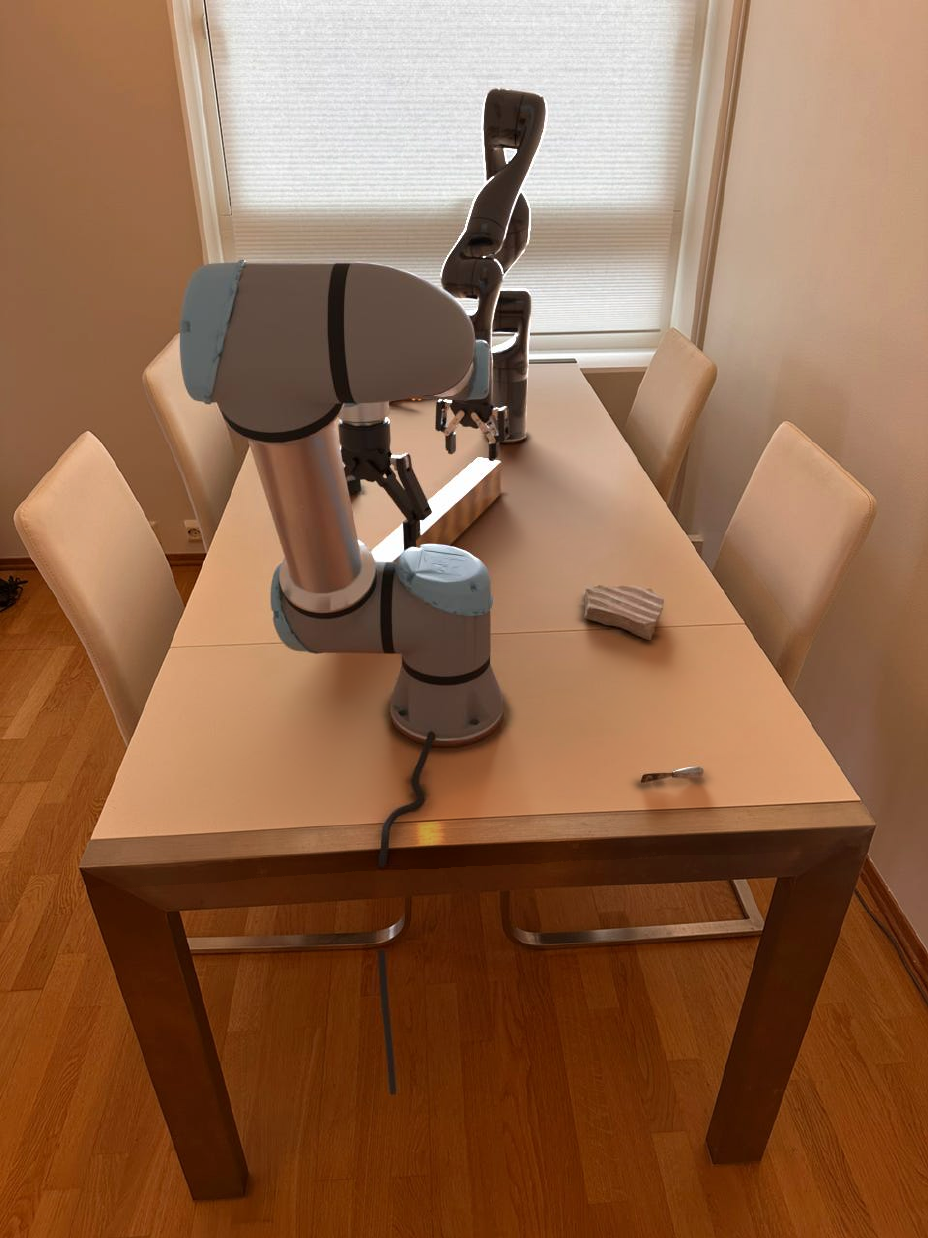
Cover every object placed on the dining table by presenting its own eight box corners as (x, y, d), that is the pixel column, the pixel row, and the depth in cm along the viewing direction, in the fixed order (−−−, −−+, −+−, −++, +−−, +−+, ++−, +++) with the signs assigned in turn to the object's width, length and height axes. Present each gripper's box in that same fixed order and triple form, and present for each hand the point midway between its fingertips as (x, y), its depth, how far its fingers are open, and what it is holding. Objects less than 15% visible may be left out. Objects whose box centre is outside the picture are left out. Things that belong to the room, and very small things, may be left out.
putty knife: (703, 777, 109) (705, 767, 109) (642, 788, 108) (644, 777, 107) (700, 772, 110) (702, 762, 109) (639, 782, 109) (640, 771, 108)
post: (369, 625, 140) (366, 585, 136) (342, 618, 141) (338, 579, 138) (500, 494, 182) (501, 460, 178) (478, 490, 184) (478, 457, 180)
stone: (668, 604, 144) (670, 590, 143) (652, 641, 135) (653, 627, 134) (591, 589, 149) (592, 576, 147) (570, 625, 139) (570, 611, 138)
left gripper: (452, 421, 128) (454, 554, 138) (304, 401, 137) (316, 527, 147) (429, 437, 122) (432, 575, 132) (276, 414, 131) (291, 545, 141)
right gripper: (516, 371, 162) (513, 455, 171) (445, 362, 167) (446, 443, 176) (500, 384, 157) (498, 469, 166) (427, 373, 162) (430, 457, 171)
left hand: (371, 550), depth 140 cm, fingers open, 13 cm apart
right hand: (472, 456), depth 171 cm, fingers open, 8 cm apart
